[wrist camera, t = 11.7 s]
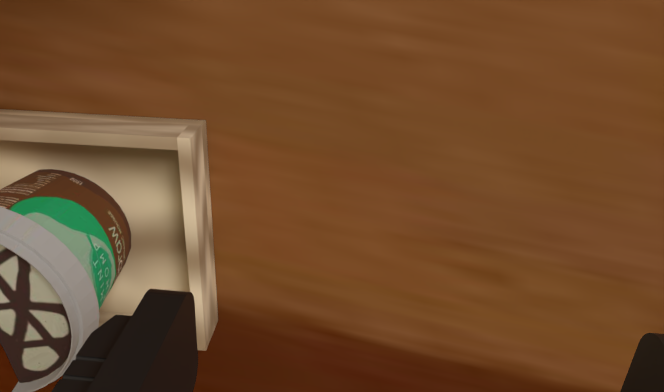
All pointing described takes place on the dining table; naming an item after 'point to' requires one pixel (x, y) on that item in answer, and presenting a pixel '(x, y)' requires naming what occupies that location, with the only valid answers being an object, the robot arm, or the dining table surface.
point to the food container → (55, 269)
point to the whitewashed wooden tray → (133, 195)
